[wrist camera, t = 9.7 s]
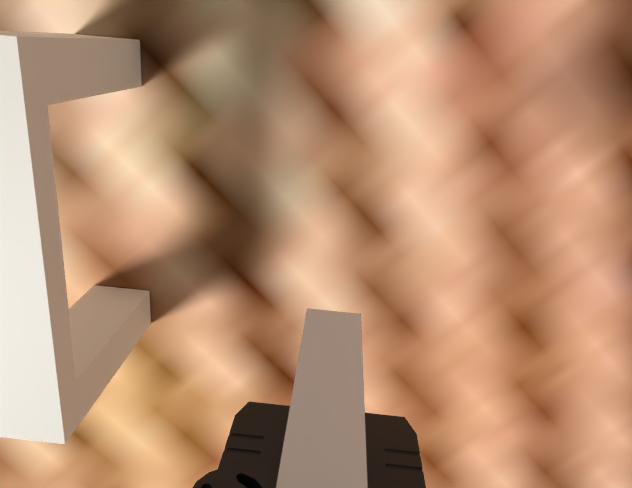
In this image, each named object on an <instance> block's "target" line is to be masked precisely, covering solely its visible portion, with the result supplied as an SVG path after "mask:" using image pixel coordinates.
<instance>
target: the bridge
mask: <svg viewBox="0 0 632 488" xmlns="http://www.w3.org/2000/svg"><path fill="white" fill-rule="evenodd" d="M141 86H142V81H141V55H140V40H136V39H125V38H114V37H103V36H91V35H80V34H63V33H38V32H14V31H0V437H5V438H14V439H23V440H32V441H41V442H50V443H60V444H65V443H66V442H67V440H68V439H69V438H70V436H71V435H72V433H73V432H74V431H75V429H76V428H77V426H78V425H79V424H80V422H81V421H82V419H83V418H84V417H85V415H86V414H87V412H88V411H89V410H90V408H91V407H92V405H93V404H94V403H95V401H96V400H97V398H98V397H99V396H100V394H101V393H102V391H103V390H104V389H105V387H106V386H107V384H108V383H109V382H110V380H111V379H112V377H113V376H114V375H115V373H116V372H117V370H118V369H119V368H120V366H121V365H122V363H123V362H124V360H125V359H126V358H127V356H128V355H129V353H130V352H131V351H132V349H133V348H134V346H135V345H136V344H137V342H138V341H139V339H140V338H141V337H142V335H143V334H144V332H145V331H146V330H147V328H148V327H149V325H150V324H151V314H150V291H147V290H137V289H127V288H117V287H107V286H97V285H94V286H93V287H92V288H91V289H90V290H89V291H88V292H87V293H85V294H84V295H83V296H82V297H81V298H80V299H79V300H78V301H77V302H76V303H75V304H74V305H73V306H72V307H71V308H70V309H68V300H67V291H66V281H65V271H64V262H63V252H62V242H61V233H60V223H59V213H58V204H57V194H56V184H55V175H54V165H53V155H52V146H51V136H50V126H49V116H48V107H47V105H50V104H55V103H60V102H65V101H70V100H75V99H80V98H85V97H90V96H95V95H101V94H106V93H111V92H116V91H121V90H126V89H131V88H136V87H141Z"/></svg>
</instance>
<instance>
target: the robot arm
mask: <svg viewBox="0 0 632 488" xmlns="http://www.w3.org/2000/svg"><path fill="white" fill-rule="evenodd" d="M419 454H420V452H419V446H418V440H417V434H416V433H415V431H414V430H413V428H412V427H411V426H410V424H409V423H408V421H407V420H406V419H405V417H398V416H389V415H380V414H371V413H365V408H364V382H363V356H362V330H361V314H356V313H346V312H336V311H327V310H317V309H307V312H306V318H305V324H304V329H303V335H302V341H301V347H300V352H299V358H298V364H297V370H296V375H295V381H294V387H293V393H292V398H291V404H290V406H284V405H275V404H266V403H257V402H248V403H247V404H246V405H245V406H244V407H243V408H242V409H241V410H240V411H239V412H238V413H237V414H236V415H235V418H234V421H233V424H232V427H231V430H230V434H229V436H228V440H227V443H226V446H225V451H224V452H223V455H222V458H221V461H220V464H219V467H218V470H215V471H212V472H209V473H208V474H206V475H205V476H204V477H202V478H201V479H199V480H198V481H197V482H196V483H195V485H194V487H193V488H426V486H425V480H424V475H423V472H422V463H421V457H420V455H419Z"/></svg>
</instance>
